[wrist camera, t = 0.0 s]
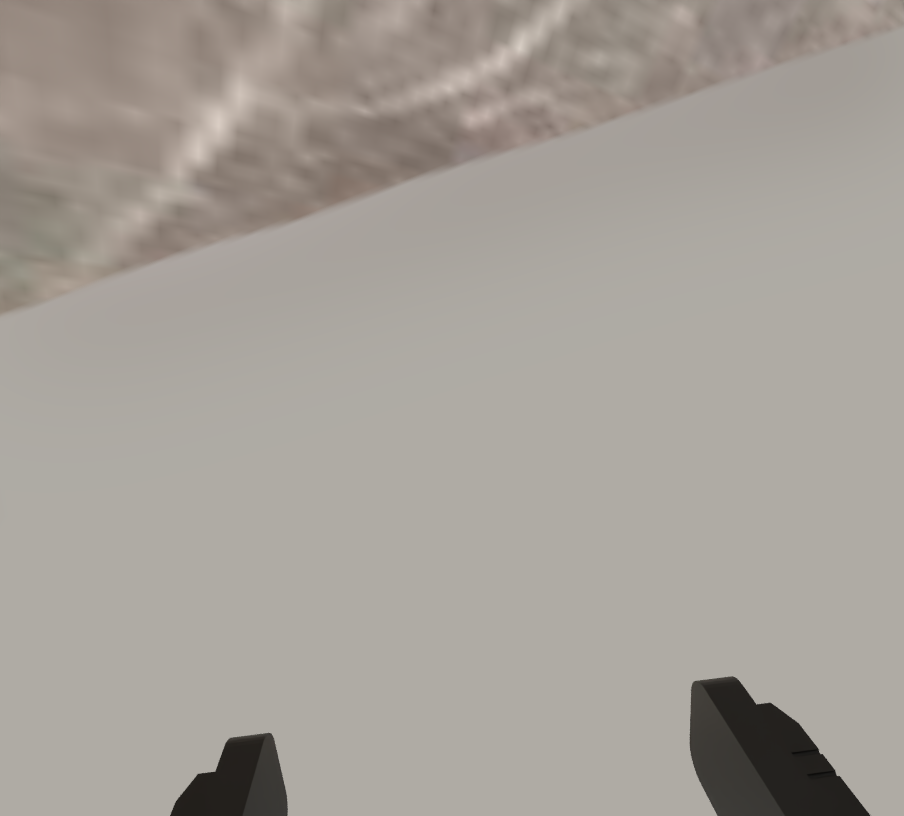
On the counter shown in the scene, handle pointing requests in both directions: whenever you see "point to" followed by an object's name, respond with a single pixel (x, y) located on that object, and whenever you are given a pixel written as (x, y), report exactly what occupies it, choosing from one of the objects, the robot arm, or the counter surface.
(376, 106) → the counter surface
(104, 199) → the counter surface
